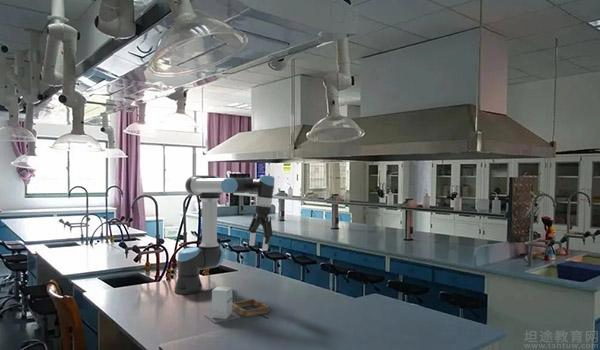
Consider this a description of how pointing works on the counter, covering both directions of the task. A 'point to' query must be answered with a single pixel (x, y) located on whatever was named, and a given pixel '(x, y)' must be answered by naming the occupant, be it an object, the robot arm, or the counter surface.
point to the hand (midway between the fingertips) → (258, 248)
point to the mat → (217, 320)
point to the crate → (246, 313)
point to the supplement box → (221, 302)
